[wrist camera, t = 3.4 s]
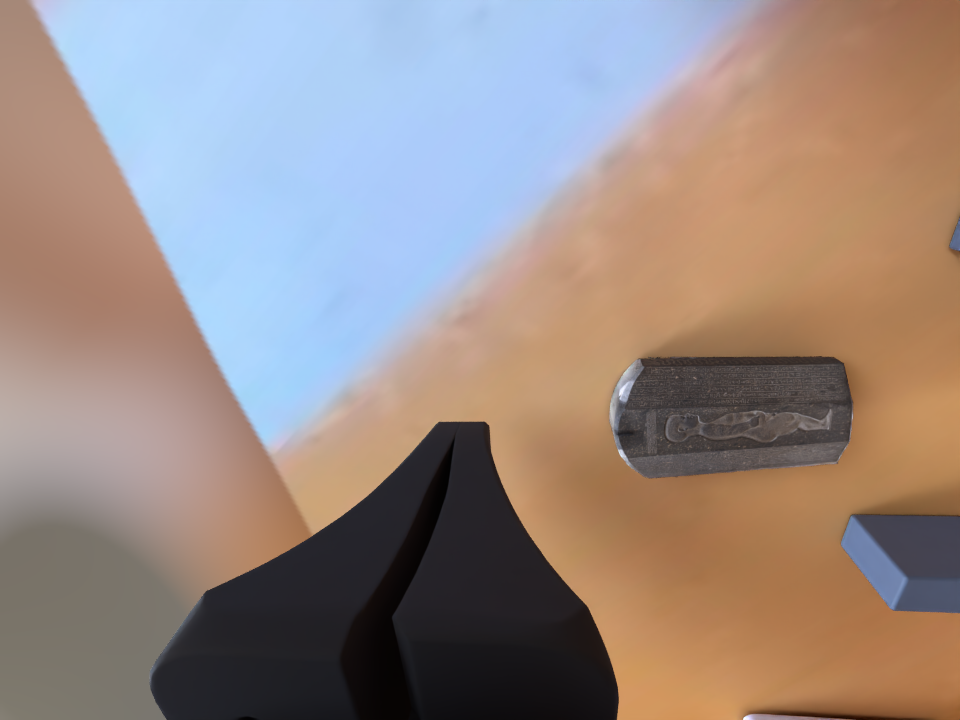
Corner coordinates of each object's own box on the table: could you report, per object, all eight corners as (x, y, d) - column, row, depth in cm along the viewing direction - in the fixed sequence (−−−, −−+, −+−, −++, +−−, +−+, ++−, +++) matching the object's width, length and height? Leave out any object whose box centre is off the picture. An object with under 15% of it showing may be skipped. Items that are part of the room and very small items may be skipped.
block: (813, 438, 14) (851, 478, 12) (612, 459, 15) (623, 499, 13) (825, 329, 13) (870, 357, 11) (601, 361, 14) (612, 391, 12)
